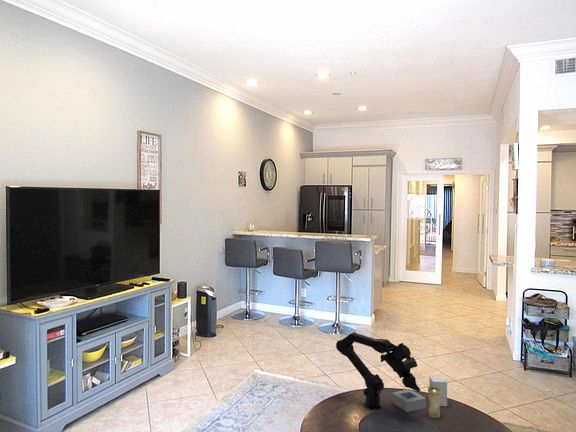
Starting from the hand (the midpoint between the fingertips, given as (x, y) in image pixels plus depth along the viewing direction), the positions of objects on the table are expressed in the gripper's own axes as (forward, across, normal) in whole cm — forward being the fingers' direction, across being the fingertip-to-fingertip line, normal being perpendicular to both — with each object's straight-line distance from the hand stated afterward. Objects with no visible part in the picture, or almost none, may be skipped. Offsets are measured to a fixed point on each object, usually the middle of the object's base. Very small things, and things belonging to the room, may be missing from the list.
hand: (417, 387), depth 200 cm
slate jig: (+8, +10, +11) cm, 17 cm away
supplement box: (+19, +14, 0) cm, 24 cm away
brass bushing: (+15, -1, +4) cm, 15 cm away
